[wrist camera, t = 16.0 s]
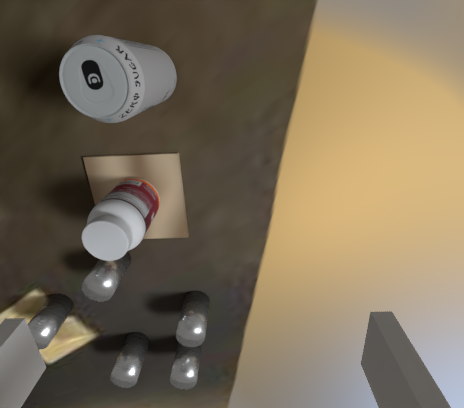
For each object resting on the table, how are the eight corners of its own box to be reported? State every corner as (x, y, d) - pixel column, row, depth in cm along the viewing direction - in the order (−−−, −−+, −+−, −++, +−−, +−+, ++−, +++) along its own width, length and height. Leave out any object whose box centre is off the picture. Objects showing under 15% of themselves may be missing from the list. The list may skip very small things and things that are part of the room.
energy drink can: (133, 107, 36) (69, 133, 22) (118, 50, 34) (35, 41, 20) (183, 98, 36) (148, 120, 22) (171, 40, 33) (123, 24, 19)
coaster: (105, 237, 44) (103, 239, 43) (85, 156, 39) (82, 157, 38) (188, 235, 43) (188, 237, 43) (178, 152, 38) (177, 153, 38)
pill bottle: (139, 227, 42) (107, 277, 32) (104, 195, 40) (59, 238, 30) (171, 201, 40) (148, 246, 30) (136, 166, 38) (100, 202, 28)
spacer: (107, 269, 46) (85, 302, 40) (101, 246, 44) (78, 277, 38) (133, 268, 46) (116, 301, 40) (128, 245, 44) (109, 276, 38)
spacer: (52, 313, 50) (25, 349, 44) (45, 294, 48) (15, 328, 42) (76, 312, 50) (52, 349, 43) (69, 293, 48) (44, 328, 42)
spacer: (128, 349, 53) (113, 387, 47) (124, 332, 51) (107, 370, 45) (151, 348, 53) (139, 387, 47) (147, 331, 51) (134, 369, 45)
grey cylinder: (180, 350, 53) (171, 389, 47) (177, 333, 51) (168, 371, 45) (202, 350, 53) (197, 389, 46) (200, 333, 51) (195, 371, 45)
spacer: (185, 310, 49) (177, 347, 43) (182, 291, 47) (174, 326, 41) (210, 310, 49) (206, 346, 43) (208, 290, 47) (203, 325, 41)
